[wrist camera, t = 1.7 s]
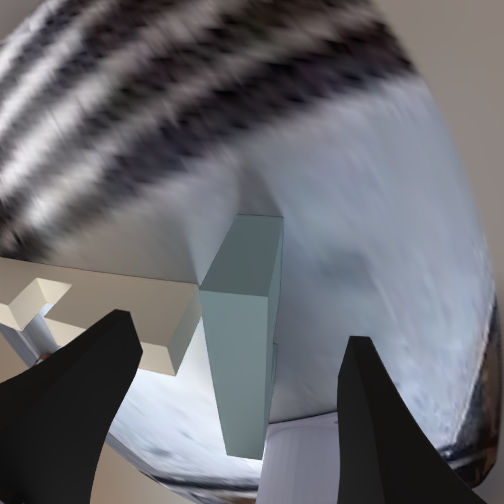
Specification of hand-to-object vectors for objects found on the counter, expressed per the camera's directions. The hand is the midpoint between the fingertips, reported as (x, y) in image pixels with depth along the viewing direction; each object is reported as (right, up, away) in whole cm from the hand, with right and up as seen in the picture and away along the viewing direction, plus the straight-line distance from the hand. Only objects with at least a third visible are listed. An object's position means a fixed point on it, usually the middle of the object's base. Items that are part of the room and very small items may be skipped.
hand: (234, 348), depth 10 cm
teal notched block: (+1, -1, +7) cm, 7 cm away
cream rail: (-11, +1, +8) cm, 14 cm away
